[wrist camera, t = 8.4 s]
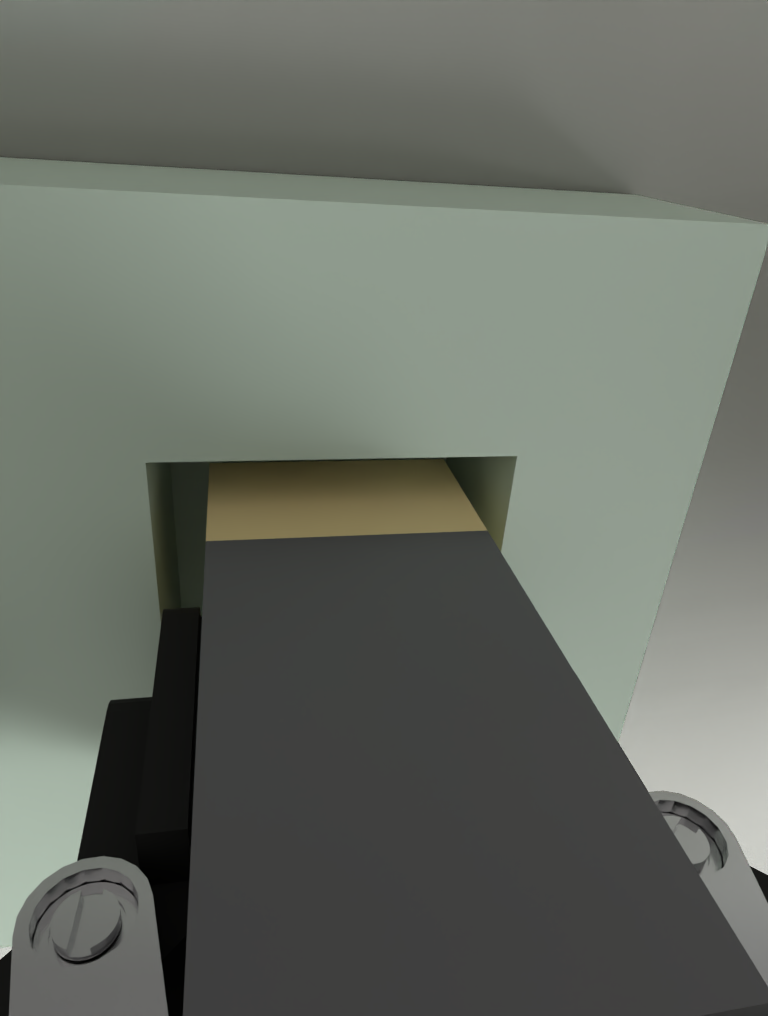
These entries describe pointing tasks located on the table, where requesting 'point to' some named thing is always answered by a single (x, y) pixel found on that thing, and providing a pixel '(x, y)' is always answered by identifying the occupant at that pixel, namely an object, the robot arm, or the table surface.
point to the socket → (329, 410)
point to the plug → (416, 778)
